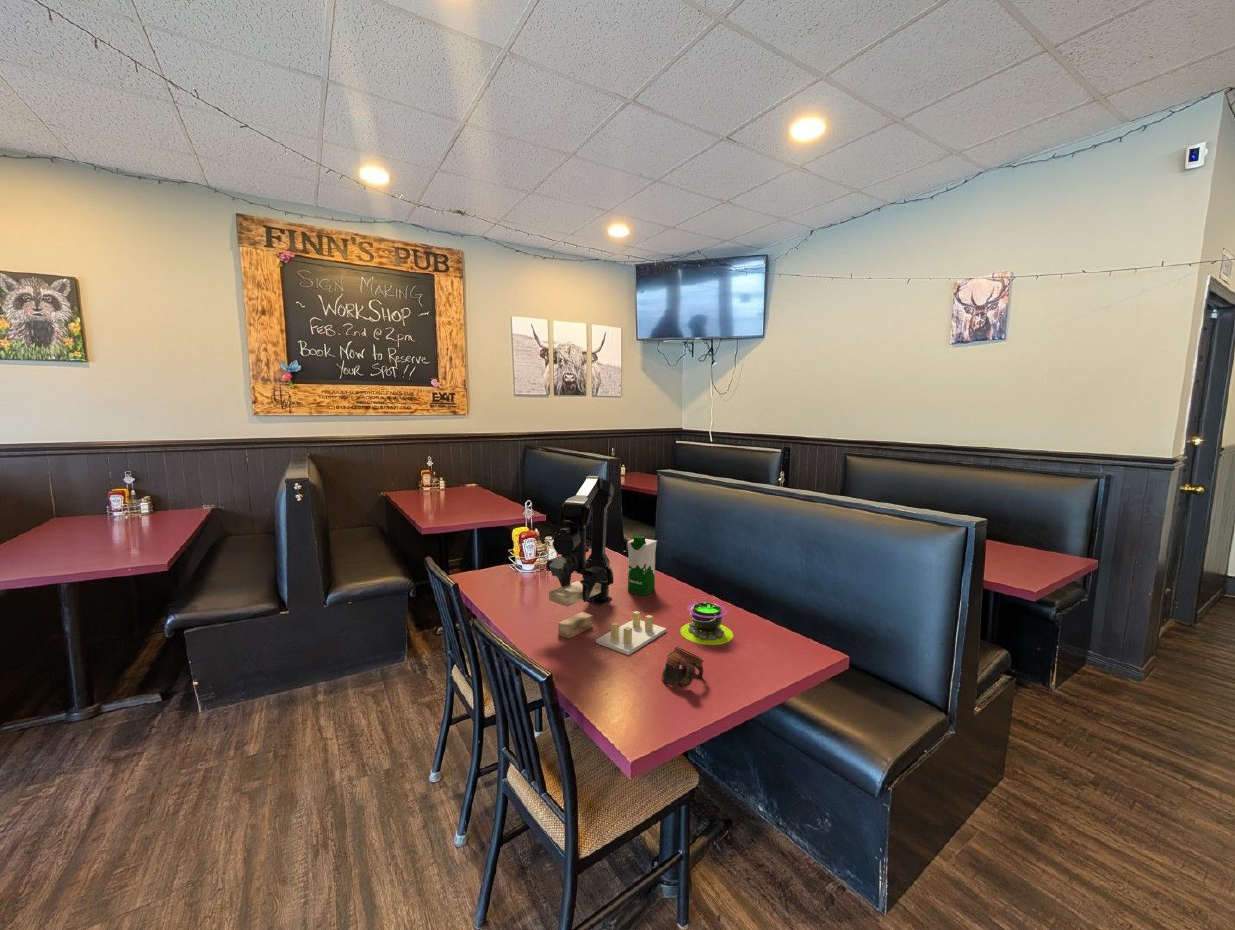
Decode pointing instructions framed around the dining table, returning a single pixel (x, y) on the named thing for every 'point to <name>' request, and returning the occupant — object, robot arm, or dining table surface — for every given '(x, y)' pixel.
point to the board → (571, 593)
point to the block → (575, 625)
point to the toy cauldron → (706, 625)
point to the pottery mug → (688, 668)
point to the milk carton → (641, 565)
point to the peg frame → (631, 634)
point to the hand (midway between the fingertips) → (575, 598)
